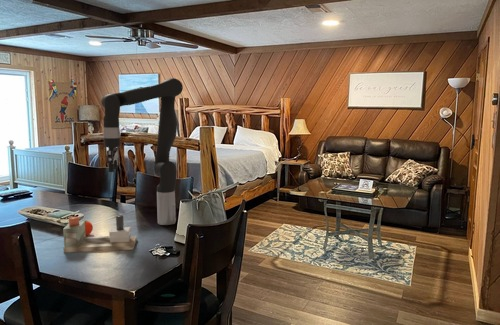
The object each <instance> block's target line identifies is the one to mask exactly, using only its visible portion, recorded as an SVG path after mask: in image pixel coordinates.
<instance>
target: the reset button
mask: <svg viewBox="0 0 500 325" xmlns="http://www.w3.org/2000/svg"><path fill="white" fill-rule="evenodd" d="M79 221H80V217H79V216H71V217H68V224H69V226H78V225H79Z"/></svg>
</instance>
